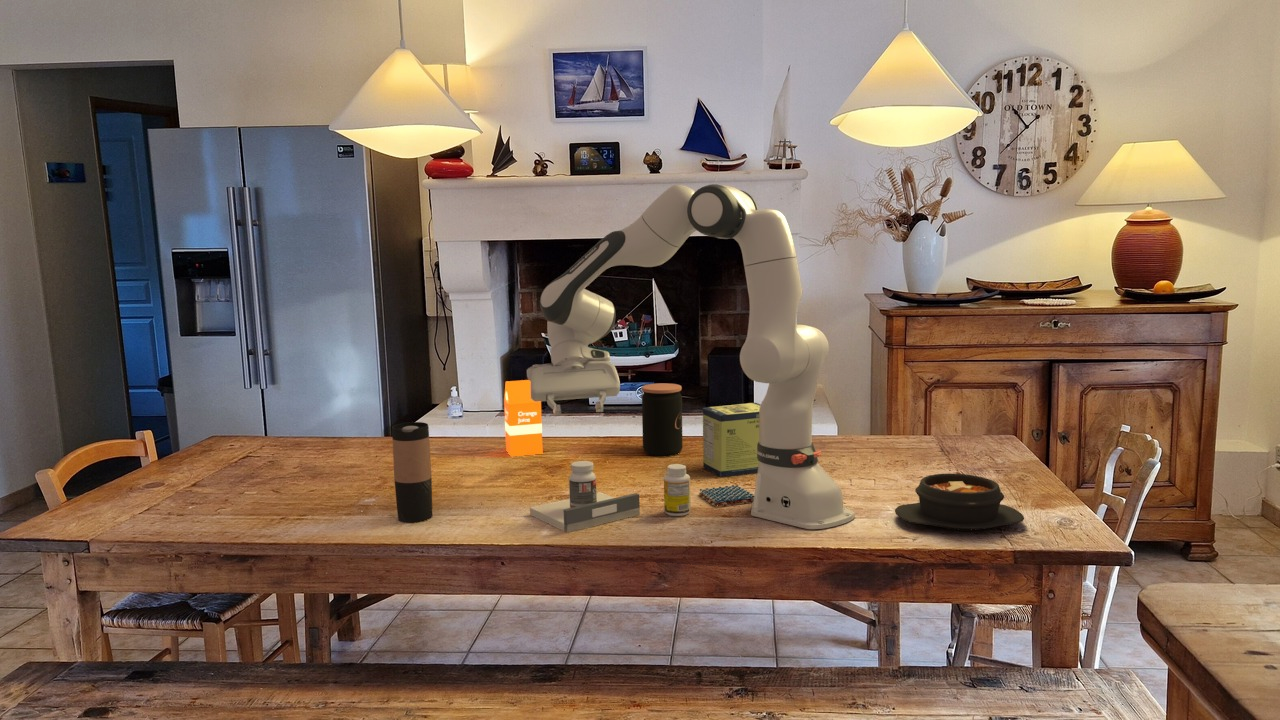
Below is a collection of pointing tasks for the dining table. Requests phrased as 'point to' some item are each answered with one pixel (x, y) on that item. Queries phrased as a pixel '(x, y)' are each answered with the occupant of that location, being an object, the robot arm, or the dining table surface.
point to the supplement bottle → (677, 491)
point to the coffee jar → (662, 419)
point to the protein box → (731, 439)
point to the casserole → (959, 503)
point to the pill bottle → (582, 484)
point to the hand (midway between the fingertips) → (578, 412)
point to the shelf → (587, 512)
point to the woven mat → (726, 496)
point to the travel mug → (412, 471)
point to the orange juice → (522, 420)
